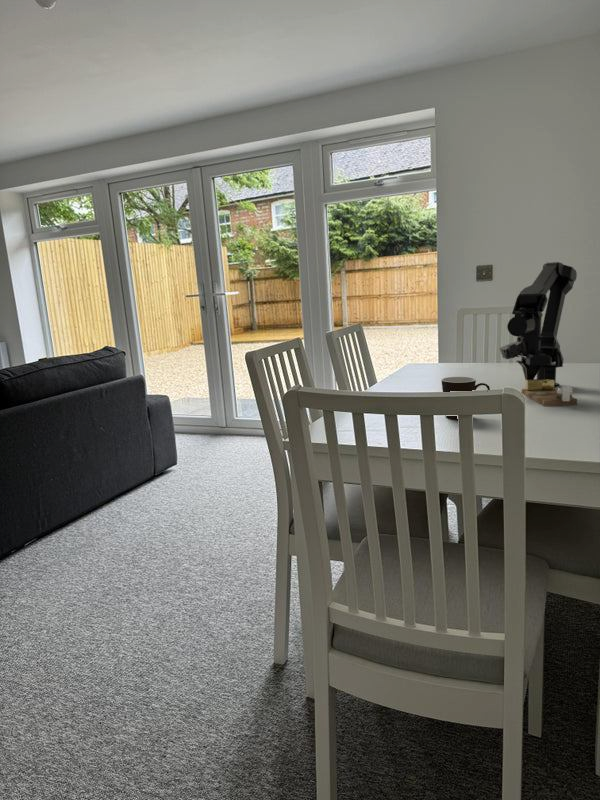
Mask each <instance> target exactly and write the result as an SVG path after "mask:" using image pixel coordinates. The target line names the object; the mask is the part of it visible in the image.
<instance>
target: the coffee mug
mask: <svg viewBox="0 0 600 800" xmlns="http://www.w3.org/2000/svg"><path fill="white" fill-rule="evenodd" d="M440 380H441V387H442V388H441V389H442V393H443V392H450V391H472V390H475V391H477V389H478V388H479V387H481V386H485V387H486V388H487V391H488V390H490V391H491V388H490V386H489V385H488V384H487V383H484V382H480V383H477V384H476V382H477V379H476V378H474V377H469V376H447V377H443V378H441V379H440ZM445 418H446V419H448V420H452V421H458V420H457V416H446V415H445Z"/></svg>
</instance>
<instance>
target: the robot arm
mask: <svg viewBox="0 0 600 800" xmlns="http://www.w3.org/2000/svg"><path fill="white" fill-rule="evenodd" d="M577 275H578V274H577V270H576V269H575V268H574V267H573V266H569V265H566V264H563V262H559V261H556V262H555V261H554V262H546V263H544V264H543V265H542V269H541V271H540V273H539V274H538V275H537V277H536V278H535V280H534V281H533V283H532V284H531V285H529V286H526V287H524V288H523V289H522V290H521V291H520V292H519V294H517V297H516V300H515V303H514V306H513V310H512V315H514V316H513V317H511V318H510V319H509V321H508V323H507V325H506V328H507V331H508V332H509V334H510V335H512V336H513V337H517V338H516V341H514V342H511V343H508V344H506V345H503V346H502V347H500V348H499V351H500V354H501V356H502V359H505V360H510V359H515V358H518V360H515V361H516V363H517V364H518V365H520V366H521V369H522V372H523V375H524V376H523V377H524V379H525V381H526V380H530V379H552V380H555V381H554V387H561V384H560V383H559V382H557V381H556V380H557V368H562V367H563V365H564V357H563V354H562V351H561V345H560V343H559V340H558V339H557V336H558V332H559V328H560V322H561V317H562V313H563V307H564V303H565V299H566V296H567V294H568V293H569V292H570V291H572V289H573V286H574V283H575V282H576V280H577ZM548 292H549V295H548V296H547V293H548ZM545 308H546V309H545ZM544 310H545V312H544ZM543 312H544V314H543ZM543 315H544V319H543V322H542V317H543Z"/></svg>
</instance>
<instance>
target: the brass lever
mask: <svg viewBox="0 0 600 800" xmlns="http://www.w3.org/2000/svg"><path fill="white" fill-rule="evenodd" d="M554 381H555V380H552V379H537V378H534V379H530V380H525V387H524V389H527V390H539V389H543V390H553V389H555V386H554Z"/></svg>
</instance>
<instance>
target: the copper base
mask: <svg viewBox="0 0 600 800" xmlns="http://www.w3.org/2000/svg"><path fill="white" fill-rule="evenodd" d="M556 390H557V388H554V389H553V390H543V389H539V390H527V389H525V388H521V394H522V393H523V394H524V395H523V394H522V395H523V396H525V397H526V398H528V397H529V398H528V399H530V398H531V399H530V400H532V401H534V402H536V403H538V404H540V405H541V406H543V407H546V406H547V407H548V406H549V407H550V406H551V407H553V406H571V405H572V406H574V405H578V399H577V398H575V397H573V396H572V397H571V398H570V401H562V399H561V398H559V397H556Z"/></svg>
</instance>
